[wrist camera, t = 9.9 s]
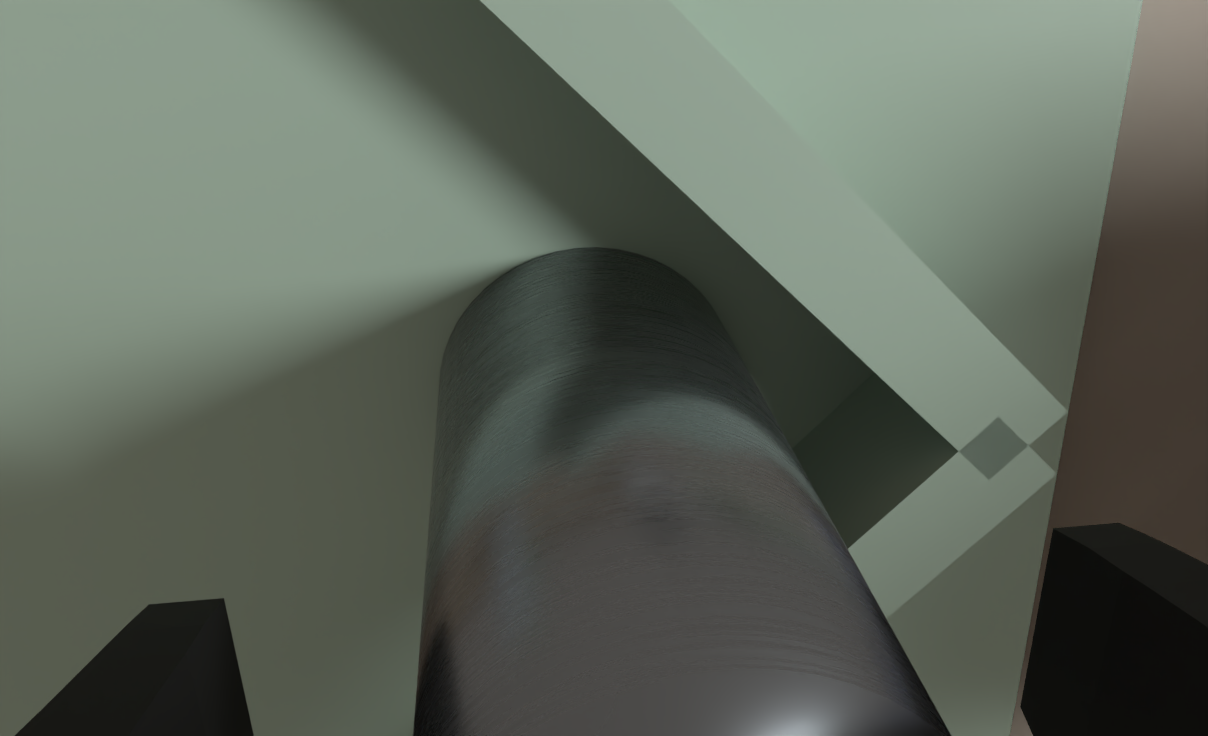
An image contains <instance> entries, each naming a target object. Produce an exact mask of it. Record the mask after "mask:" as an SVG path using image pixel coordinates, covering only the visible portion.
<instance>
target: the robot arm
mask: <svg viewBox="0 0 1208 736" xmlns="http://www.w3.org/2000/svg"><path fill="white" fill-rule="evenodd" d="M1021 709H1022V711H1023V714H1024V716H1025V718H1026V720H1027V723H1028V725H1029V727H1030V729H1031V732H1032V734H1033V736H1208V565H1207V564H1205V563H1203V562H1201V561H1199V560H1197V559H1195V558H1193V557H1191V556H1189V555H1187V554H1185V553H1183V552H1181V551H1179V550H1177V549H1175V548H1173V547H1171V546H1169V545H1167V544H1165V543H1163V542H1161V541H1158V540H1156V539H1154V538H1152V537H1150V536H1148V535H1146V534H1143V533H1141V532H1139V531H1136V530H1134V529H1132V528H1129V527H1127V526H1125V525H1122V524H1120V523H1113V524H1101V525H1089V526H1077V527H1065V528H1053V533H1052V538H1051V543H1050V549H1049V554H1048V560H1047V565H1046V571H1045V576H1044V582H1043V587H1042V592H1041V598H1040V603H1039V609H1038V614H1037V620H1036V625H1035V631H1034V636H1033V641H1032V647H1031V652H1030V658H1029V663H1028V669H1027V674H1026V679H1025V685H1024V690H1023V696H1022V701H1021ZM15 736H254V734H253V729H252V725H251V720H250V716H249V711H248V706H247V702H246V697H245V693H244V688H243V683H242V679H241V674H240V670H239V665H238V660H237V656H236V651H235V647H234V642H233V637H232V633H231V628H230V624H229V619H228V614H227V610H226V605H225V601H224V598H219V599H207V600H195V601H183V602H171V603H159V604H149V605H148V606H147V607H145V608H144V609H143V610H142V611H141V612H140V613H139V614H138V615H137V616H136V617H135V618H134V619H132V620H131V621H130V622H129V623H128V624H127V625H126V626H125V627H124V628H123V629H122V630H121V631H120V632H119V633H118V634H117V635H116V636H115V637H114V638H113V639H112V640H111V641H110V642H109V643H108V644H107V645H106V646H105V647H104V648H103V649H102V650H101V651H100V652H99V653H98V654H97V655H96V656H95V657H94V658H93V659H92V660H91V661H90V662H89V663H88V664H87V665H86V666H85V667H84V668H83V669H82V670H81V671H80V672H79V673H78V674H77V675H76V676H75V677H74V678H73V679H72V680H71V681H70V682H69V683H68V684H67V685H66V686H65V687H64V688H63V689H62V690H61V691H60V692H59V693H58V694H57V695H56V696H55V697H54V698H53V699H52V700H51V701H50V702H49V703H48V704H47V705H46V706H45V707H44V708H43V709H42V710H41V711H39V712H38V713H37V714H36V715H35V716H34V717H33V718H32V719H31V720H30V721H29V722H28V723H27V724H26V725H25V726H24V727H23V728H22V729H21V730H20V731H19V732H18V733H17V734H16V735H15Z"/></svg>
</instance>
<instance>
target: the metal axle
mask: <svg viewBox="0 0 1208 736" xmlns="http://www.w3.org/2000/svg"><path fill="white" fill-rule="evenodd" d="M413 736H951V734H950V732H949V730H948V729H947V727H946V725H945V723H944V721H943V720H942V718H941V716H940V714H939V712H938V711H937V709H936V707H935V705H934V703H933V702H932V700H931V698H930V696H929V694H928V693H927V691H926V689H925V687H924V685H923V684H922V682H921V680H920V678H919V676H918V675H917V673H916V671H915V669H914V667H913V666H912V664H911V662H910V660H909V658H908V657H907V655H906V653H905V651H904V649H903V648H902V646H901V644H900V642H899V640H898V639H897V637H896V635H895V633H894V631H893V630H892V628H891V626H890V624H889V622H888V621H887V619H886V617H885V615H884V613H883V612H882V610H881V608H880V606H879V604H878V603H877V601H876V599H875V597H874V595H873V594H872V592H871V590H870V588H869V586H868V585H867V583H866V581H865V579H864V577H863V576H862V574H861V572H860V570H859V568H858V567H857V565H856V563H855V561H854V559H853V558H852V556H851V554H850V552H849V551H848V549H847V547H846V545H845V543H844V542H843V540H842V538H841V536H840V534H839V533H838V531H837V529H836V527H835V525H834V524H833V522H832V520H831V518H830V516H829V515H828V513H827V511H826V509H825V507H824V506H823V504H822V502H821V500H820V498H819V497H818V495H817V493H816V491H815V489H814V488H813V486H812V484H811V482H810V480H809V479H808V477H807V475H806V473H805V471H804V470H803V468H802V466H801V464H800V462H799V461H798V459H797V457H796V455H795V453H794V452H793V450H792V448H791V446H790V444H789V443H788V441H787V439H786V437H785V435H784V434H783V432H782V430H781V428H780V426H779V425H778V423H777V421H776V419H775V417H774V416H773V414H772V412H771V410H770V408H769V407H768V405H767V403H766V401H765V399H764V398H763V396H762V394H761V392H760V390H759V389H758V387H757V385H756V383H755V381H754V380H753V378H752V376H751V374H750V372H749V371H748V369H747V367H746V365H745V363H744V362H743V360H742V358H741V356H740V354H739V353H738V351H737V349H736V347H735V345H734V344H733V342H732V340H731V338H730V336H729V335H728V333H727V331H726V329H725V327H724V326H723V324H722V322H721V320H720V319H719V317H718V315H717V314H716V312H715V310H714V308H713V307H712V305H711V304H710V303H709V302H708V300H707V299H706V298H705V297H704V295H703V294H702V293H701V292H700V291H699V290H698V289H697V288H696V287H695V286H694V285H693V284H692V283H691V282H690V281H689V280H687V279H686V278H685V277H683V276H682V275H680V274H679V273H678V272H676V271H675V270H673V269H672V268H670V267H668V266H666V265H664V264H662V263H660V262H658V261H656V260H654V259H652V258H649V257H646V256H643V255H640V254H638V253H634V252H629V251H625V250H620V249H613V248H601V247H586V248H573V249H567V250H561V251H555V252H552V253H549V254H545V255H542V256H539V257H535V258H533V259H531V260H529V261H526V262H524V263H522V264H520V265H517V266H516V267H514V268H512V269H511V270H509V271H508V272H506V273H504V274H503V275H501V276H499V277H498V278H497V279H496V280H494V281H493V282H492V283H491V284H489V285H488V286H487V287H486V288H484V289H483V290H482V291H481V293H480V294H479V295H478V296H477V297H476V298H475V299H474V300H473V301H472V302H471V303H470V304H469V306H468V307H467V308H466V310H465V311H464V313H463V314H462V315H461V317H460V318H459V320H458V322H457V324H456V325H455V327H454V329H453V331H452V333H451V335H450V337H449V340H448V343H447V345H446V348H445V351H444V355H443V359H442V364H441V369H440V380H439V393H438V407H437V420H436V434H435V447H434V460H433V474H432V487H431V501H430V514H429V528H428V541H427V555H426V568H425V582H424V595H423V608H422V622H421V635H420V649H419V662H418V676H417V689H416V703H415V716H414V730H413Z"/></svg>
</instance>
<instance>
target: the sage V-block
mask: <svg viewBox="0 0 1208 736" xmlns="http://www.w3.org/2000/svg"><path fill="white" fill-rule="evenodd" d="M1142 2H1143V0H0V736H15V735H16V734H17V733H18V732H19V731H20V730H21V729H22V728H23V727H24V726H25V725H26V724H27V723H28V722H29V721H30V720H31V719H32V718H33V717H34V716H35V715H36V714H37V713H38V712H39V711H41V710H42V709H43V708H44V707H45V706H46V705H47V704H48V703H49V702H50V701H51V700H52V699H53V698H54V697H55V696H56V695H57V694H58V693H59V692H60V691H61V690H62V689H63V688H64V687H65V686H66V685H67V684H68V683H69V682H70V681H71V680H72V679H73V678H74V677H75V676H76V675H77V674H78V673H79V672H80V671H81V670H82V669H83V668H84V667H85V666H86V665H87V664H88V663H89V662H90V661H91V660H92V659H93V658H94V657H95V656H96V655H97V654H98V653H99V652H100V651H101V650H102V649H103V648H104V647H105V646H106V645H107V644H108V643H109V642H110V641H111V640H112V639H113V638H114V637H115V636H116V635H117V634H118V633H119V632H120V631H121V630H122V629H123V628H124V627H125V626H126V625H127V624H128V623H129V622H130V621H131V620H132V619H134V618H135V617H136V616H137V615H138V614H139V613H140V612H141V611H142V610H143V609H144V608H145V607H147V606H148V605H149V604H159V603H171V602H183V601H195V600H207V599H219V598H224V601H225V605H226V610H227V614H228V619H229V624H230V628H231V633H232V637H233V642H234V647H235V651H236V656H237V660H238V665H239V670H240V674H241V679H242V683H243V688H244V693H245V697H246V702H247V706H248V711H249V716H250V720H251V725H252V729H253V734H254V736H413V730H414V716H415V703H416V689H417V676H418V662H419V649H420V635H421V622H422V608H423V595H424V582H425V568H426V555H427V541H428V528H429V514H430V501H431V487H432V474H433V460H434V447H435V434H436V420H437V407H438V393H439V380H440V369H441V364H442V359H443V355H444V351H445V348H446V345H447V343H448V340H449V337H450V335H451V333H452V331H453V329H454V327H455V325H456V324H457V322H458V320H459V318H460V317H461V315H462V314H463V313H464V311H465V310H466V308H467V307H468V306H469V304H470V303H471V302H472V301H473V300H474V299H475V298H476V297H477V296H478V295H479V294H480V293H481V291H482V290H483V289H484V288H486V287H487V286H488V285H489V284H491V283H492V282H493V281H494V280H496V279H497V278H498V277H499V276H501V275H503V274H504V273H506V272H508V271H509V270H511V269H512V268H514V267H516V266H517V265H520V264H522V263H524V262H526V261H529V260H531V259H533V258H535V257H539V256H542V255H545V254H549V253H552V252H555V251H561V250H567V249H573V248H586V247H601V248H613V249H620V250H625V251H629V252H634V253H638V254H640V255H643V256H646V257H649V258H652V259H654V260H656V261H658V262H660V263H662V264H664V265H666V266H668V267H670V268H672V269H673V270H675V271H676V272H678V273H679V274H680V275H682V276H683V277H685V278H686V279H687V280H689V281H690V282H691V283H692V284H693V285H694V286H695V287H696V288H697V289H698V290H699V291H700V292H701V293H702V294H703V295H704V297H705V298H706V299H707V300H708V302H709V303H710V304H711V305H712V307H713V308H714V310H715V312H716V314H717V315H718V317H719V319H720V320H721V322H722V324H723V326H724V327H725V329H726V331H727V333H728V335H729V336H730V338H731V340H732V342H733V344H734V345H735V347H736V349H737V351H738V353H739V354H740V356H741V358H742V360H743V362H744V363H745V365H746V367H747V369H748V371H749V372H750V374H751V376H752V378H753V380H754V381H755V383H756V385H757V387H758V389H759V390H760V392H761V394H762V396H763V398H764V399H765V401H766V403H767V405H768V407H769V408H770V410H771V412H772V414H773V416H774V417H775V419H776V421H777V423H778V425H779V426H780V428H781V430H782V432H783V434H784V435H785V437H786V439H787V441H788V443H789V444H790V446H791V448H792V450H793V452H794V453H795V455H796V457H797V459H798V461H799V462H800V464H801V466H802V468H803V470H804V471H805V473H806V475H807V477H808V479H809V480H810V482H811V484H812V486H813V488H814V489H815V491H816V493H817V495H818V497H819V498H820V500H821V502H822V504H823V506H824V507H825V509H826V511H827V513H828V515H829V516H830V518H831V520H832V522H833V524H834V525H835V527H836V529H837V531H838V533H839V534H840V536H841V538H842V540H843V542H844V543H845V545H846V547H847V549H848V551H849V552H850V554H851V556H852V558H853V559H854V561H855V563H856V565H857V567H858V568H859V570H860V572H861V574H862V576H863V577H864V579H865V581H866V583H867V585H868V586H869V588H870V590H871V592H872V594H873V595H874V597H875V599H876V601H877V603H878V604H879V606H880V608H881V610H882V612H883V613H884V615H885V617H886V619H887V621H888V622H889V624H890V626H891V628H892V630H893V631H894V633H895V635H896V637H897V639H898V640H899V642H900V644H901V646H902V648H903V649H904V651H905V653H906V655H907V657H908V658H909V660H910V662H911V664H912V666H913V667H914V669H915V671H916V673H917V675H918V676H919V678H920V680H921V682H922V684H923V685H924V687H925V689H926V691H927V693H928V694H929V696H930V698H931V700H932V702H933V703H934V705H935V707H936V709H937V711H938V712H939V714H940V716H941V718H942V720H943V721H944V723H945V725H946V727H947V729H948V730H949V732H950V734H951V736H1010V731H1011V726H1012V720H1013V715H1014V709H1015V704H1016V698H1017V693H1018V687H1019V682H1020V676H1021V670H1022V665H1023V659H1024V654H1025V648H1026V643H1027V637H1028V632H1029V626H1030V621H1031V615H1032V610H1033V604H1034V599H1035V593H1036V588H1037V582H1038V576H1039V571H1040V565H1041V560H1042V554H1043V549H1044V543H1045V538H1046V532H1047V527H1048V521H1049V516H1050V510H1051V505H1052V499H1053V494H1054V488H1055V482H1056V477H1057V471H1058V466H1059V460H1060V455H1061V449H1062V444H1063V438H1064V433H1065V427H1066V422H1067V416H1068V411H1069V405H1070V400H1071V394H1072V389H1073V383H1074V377H1075V372H1076V366H1077V361H1078V355H1079V350H1080V344H1081V339H1082V333H1083V328H1084V322H1085V317H1086V311H1087V306H1088V300H1089V295H1090V289H1091V283H1092V278H1093V272H1094V267H1095V261H1096V256H1097V250H1098V245H1099V239H1100V234H1101V228H1102V223H1103V217H1104V212H1105V206H1106V201H1107V195H1108V189H1109V184H1110V178H1111V173H1112V167H1113V162H1114V156H1115V151H1116V145H1117V140H1118V134H1119V129H1120V123H1121V118H1122V112H1123V107H1124V101H1125V96H1126V90H1127V84H1128V79H1129V73H1130V68H1131V62H1132V57H1133V51H1134V46H1135V40H1136V35H1137V29H1138V24H1139V18H1140V13H1141V7H1142Z"/></svg>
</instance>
